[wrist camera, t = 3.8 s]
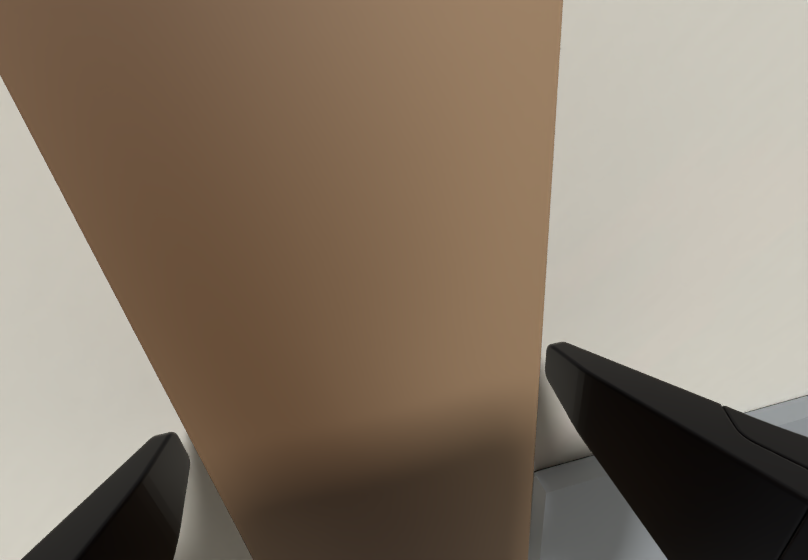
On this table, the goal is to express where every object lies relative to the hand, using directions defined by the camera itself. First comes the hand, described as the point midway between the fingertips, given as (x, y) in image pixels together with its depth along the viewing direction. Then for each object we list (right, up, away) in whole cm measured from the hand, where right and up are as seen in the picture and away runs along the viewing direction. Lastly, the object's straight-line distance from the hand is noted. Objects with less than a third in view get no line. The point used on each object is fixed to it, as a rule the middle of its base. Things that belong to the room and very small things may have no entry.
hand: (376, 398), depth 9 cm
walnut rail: (0, +1, +1) cm, 1 cm away
